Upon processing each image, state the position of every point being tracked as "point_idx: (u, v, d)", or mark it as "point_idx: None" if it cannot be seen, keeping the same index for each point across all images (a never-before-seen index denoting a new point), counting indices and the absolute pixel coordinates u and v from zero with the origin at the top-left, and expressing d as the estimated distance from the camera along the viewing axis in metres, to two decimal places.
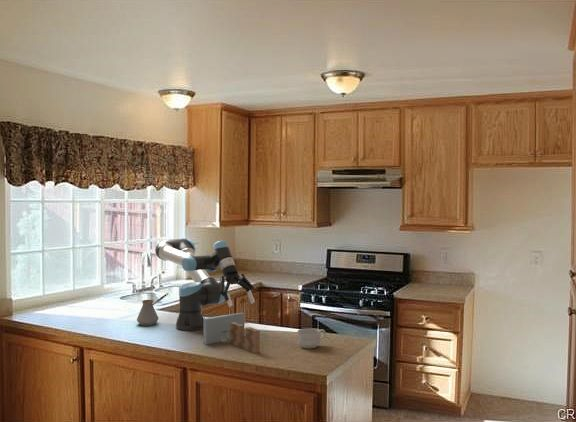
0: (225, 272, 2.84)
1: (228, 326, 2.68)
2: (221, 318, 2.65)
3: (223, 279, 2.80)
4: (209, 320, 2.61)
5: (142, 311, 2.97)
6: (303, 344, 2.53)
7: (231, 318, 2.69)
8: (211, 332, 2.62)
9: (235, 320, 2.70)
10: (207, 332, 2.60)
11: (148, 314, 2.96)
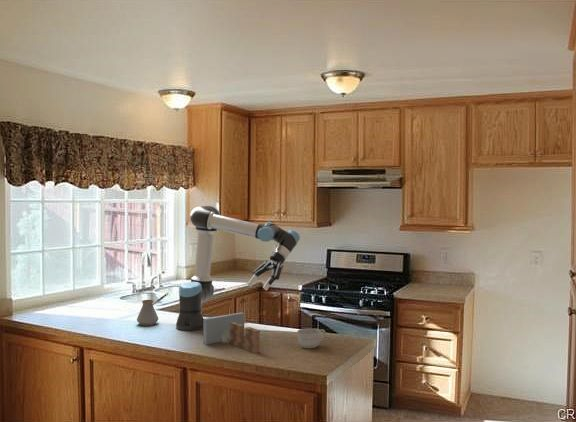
0: (281, 261, 2.85)
1: (228, 326, 2.68)
2: (221, 318, 2.65)
3: None
4: (209, 320, 2.61)
5: (142, 311, 2.97)
6: (303, 344, 2.53)
7: (231, 318, 2.69)
8: (211, 332, 2.62)
9: (235, 320, 2.70)
10: (207, 332, 2.60)
11: (148, 314, 2.96)
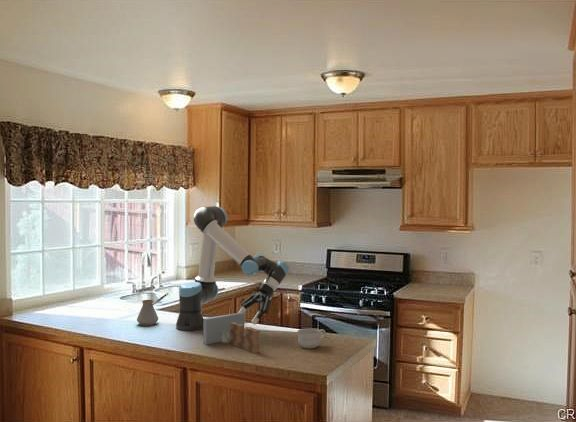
0: (270, 294, 2.80)
1: (228, 326, 2.68)
2: (221, 318, 2.65)
3: None
4: (209, 320, 2.61)
5: (142, 311, 2.97)
6: (303, 344, 2.53)
7: (231, 318, 2.69)
8: (211, 332, 2.62)
9: (235, 320, 2.70)
10: (207, 332, 2.60)
11: (148, 314, 2.96)
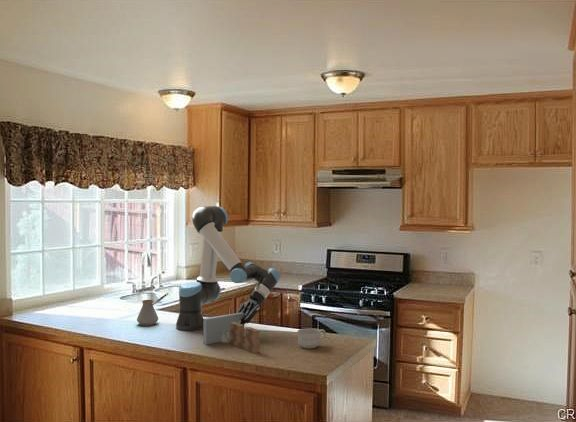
0: (261, 301, 2.77)
1: (228, 326, 2.68)
2: (221, 318, 2.65)
3: None
4: (209, 320, 2.61)
5: (142, 311, 2.97)
6: (303, 344, 2.53)
7: (231, 318, 2.69)
8: (211, 332, 2.62)
9: (235, 320, 2.70)
10: (207, 332, 2.60)
11: (148, 314, 2.96)
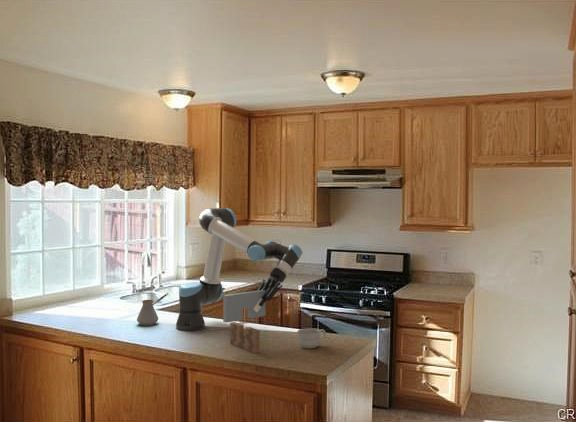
0: (282, 278, 2.64)
1: (249, 304, 2.54)
2: (241, 295, 2.52)
3: None
4: (229, 296, 2.47)
5: (142, 311, 2.97)
6: (303, 344, 2.53)
7: (252, 295, 2.56)
8: (231, 309, 2.48)
9: (256, 298, 2.57)
10: (227, 309, 2.47)
11: (148, 314, 2.96)
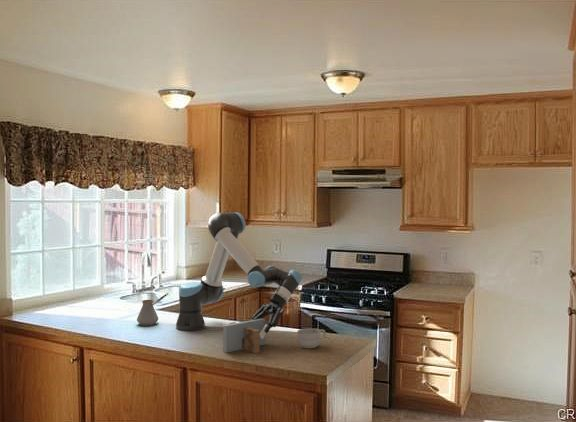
0: (282, 304, 2.64)
1: None
2: (241, 325, 2.52)
3: None
4: (229, 327, 2.48)
5: (142, 311, 2.97)
6: (303, 344, 2.53)
7: (252, 324, 2.56)
8: (231, 339, 2.49)
9: (256, 327, 2.57)
10: (227, 339, 2.47)
11: (148, 314, 2.96)
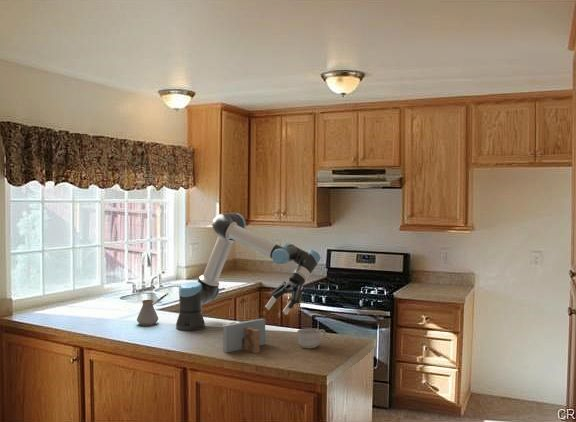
0: (301, 283, 2.71)
1: None
2: (241, 325, 2.52)
3: None
4: (229, 327, 2.48)
5: (142, 311, 2.97)
6: (303, 344, 2.53)
7: (252, 324, 2.56)
8: (231, 339, 2.49)
9: (256, 327, 2.57)
10: (227, 339, 2.47)
11: (148, 314, 2.96)
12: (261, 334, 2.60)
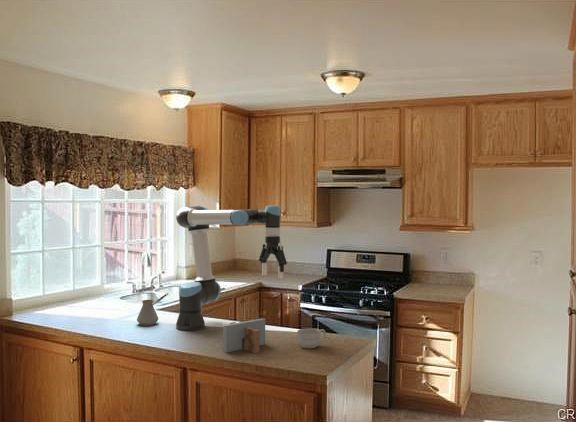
0: (278, 241, 2.81)
1: None
2: (241, 325, 2.52)
3: None
4: (229, 327, 2.48)
5: (142, 311, 2.97)
6: (303, 344, 2.53)
7: (252, 324, 2.56)
8: (231, 339, 2.49)
9: (256, 327, 2.57)
10: (227, 339, 2.47)
11: (148, 314, 2.96)
12: (261, 334, 2.60)
